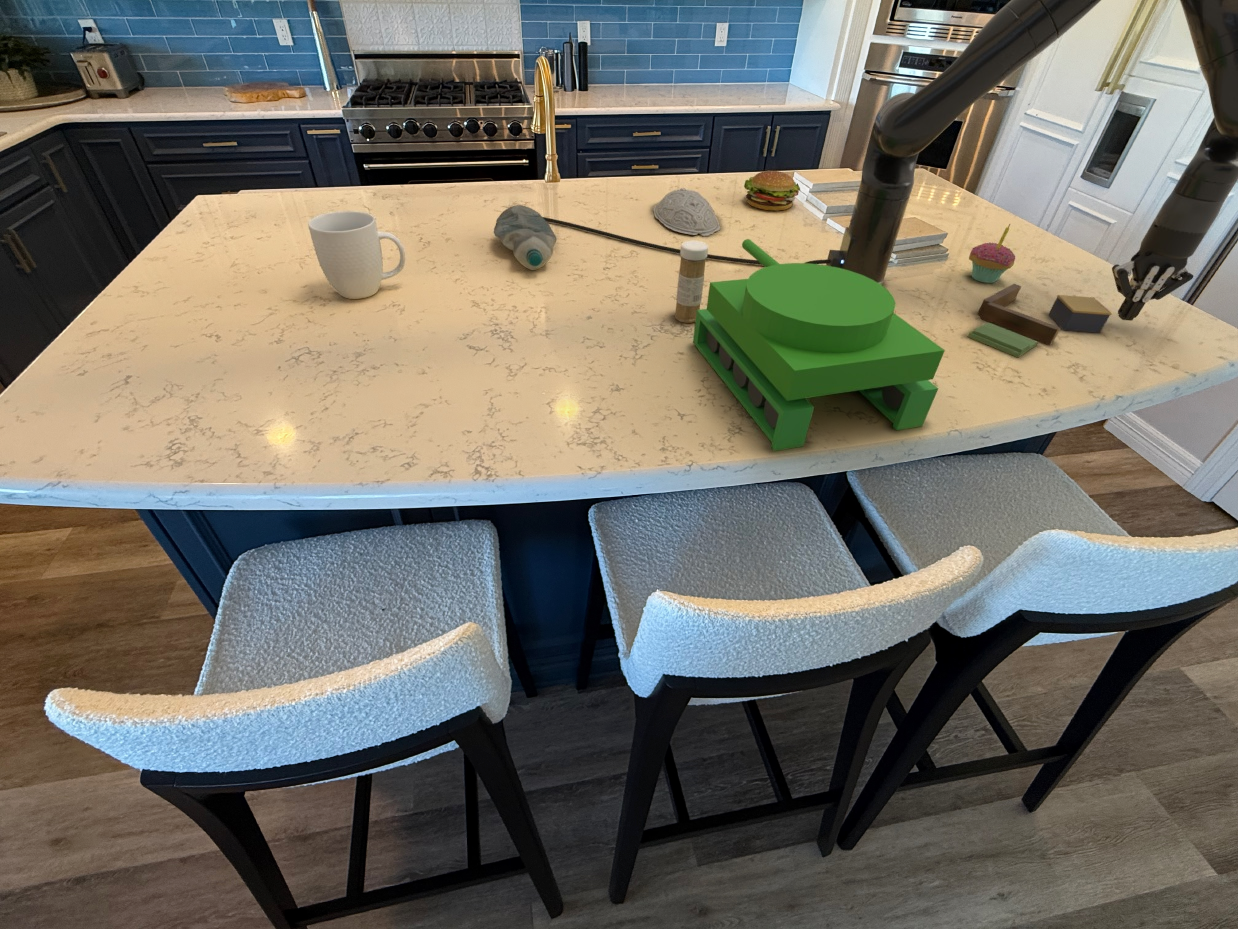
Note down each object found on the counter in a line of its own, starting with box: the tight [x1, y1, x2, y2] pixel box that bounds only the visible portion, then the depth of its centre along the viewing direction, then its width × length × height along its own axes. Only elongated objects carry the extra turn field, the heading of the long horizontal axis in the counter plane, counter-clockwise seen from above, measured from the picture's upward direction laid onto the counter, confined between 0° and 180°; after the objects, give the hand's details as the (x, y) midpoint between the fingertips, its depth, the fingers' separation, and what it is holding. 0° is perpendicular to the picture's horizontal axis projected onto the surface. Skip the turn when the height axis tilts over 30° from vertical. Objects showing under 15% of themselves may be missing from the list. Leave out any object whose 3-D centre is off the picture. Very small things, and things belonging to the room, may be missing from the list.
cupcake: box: [968, 223, 1016, 284], centre depth 128 cm, size 9×8×12 cm
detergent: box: [493, 204, 558, 271], centre depth 131 cm, size 13×7×25 cm
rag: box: [967, 321, 1039, 358], centre depth 110 cm, size 9×7×1 cm
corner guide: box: [977, 283, 1062, 346], centre depth 117 cm, size 10×19×3 cm, turn 174°
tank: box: [692, 238, 946, 452], centre depth 94 cm, size 24×35×16 cm
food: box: [743, 170, 801, 212], centre depth 163 cm, size 14×14×8 cm
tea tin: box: [1047, 294, 1113, 334], centre depth 116 cm, size 7×7×4 cm
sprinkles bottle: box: [674, 240, 709, 324], centre depth 109 cm, size 5×5×13 cm
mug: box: [307, 210, 406, 300], centre depth 113 cm, size 15×11×13 cm
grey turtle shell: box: [653, 187, 721, 237], centre depth 153 cm, size 16×25×7 cm, turn 8°
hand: (1124, 318), depth 116 cm, fingers closed
